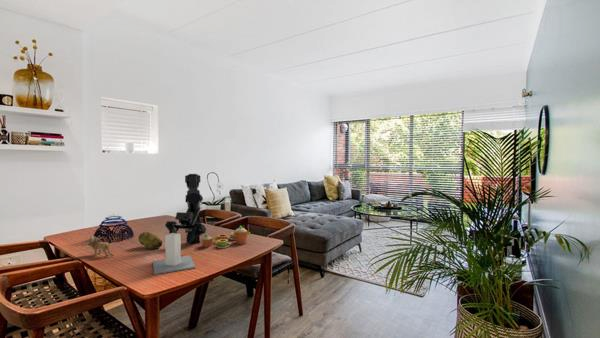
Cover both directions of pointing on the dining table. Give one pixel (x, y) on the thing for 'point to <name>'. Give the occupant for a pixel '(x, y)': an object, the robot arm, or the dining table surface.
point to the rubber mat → (163, 268)
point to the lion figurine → (99, 246)
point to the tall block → (173, 248)
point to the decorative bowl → (99, 234)
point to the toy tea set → (237, 235)
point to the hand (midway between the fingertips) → (178, 243)
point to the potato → (150, 240)
